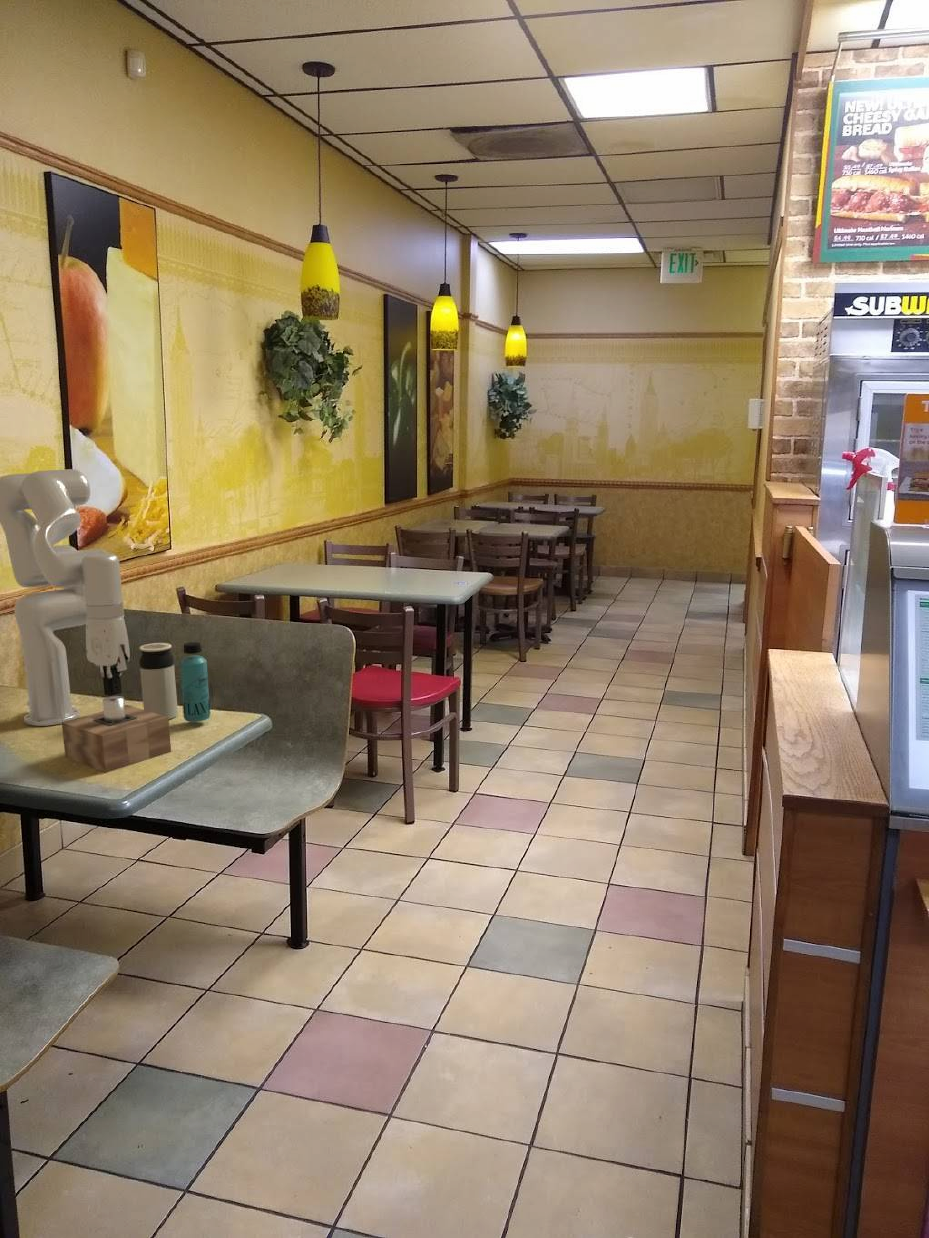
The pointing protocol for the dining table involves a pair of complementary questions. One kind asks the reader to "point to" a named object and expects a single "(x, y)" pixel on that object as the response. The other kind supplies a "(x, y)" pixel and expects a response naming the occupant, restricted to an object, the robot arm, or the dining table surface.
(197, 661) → the beverage bottle
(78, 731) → the block
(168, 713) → the travel mug
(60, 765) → the dining table surface
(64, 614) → the robot arm
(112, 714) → the steel dowel
